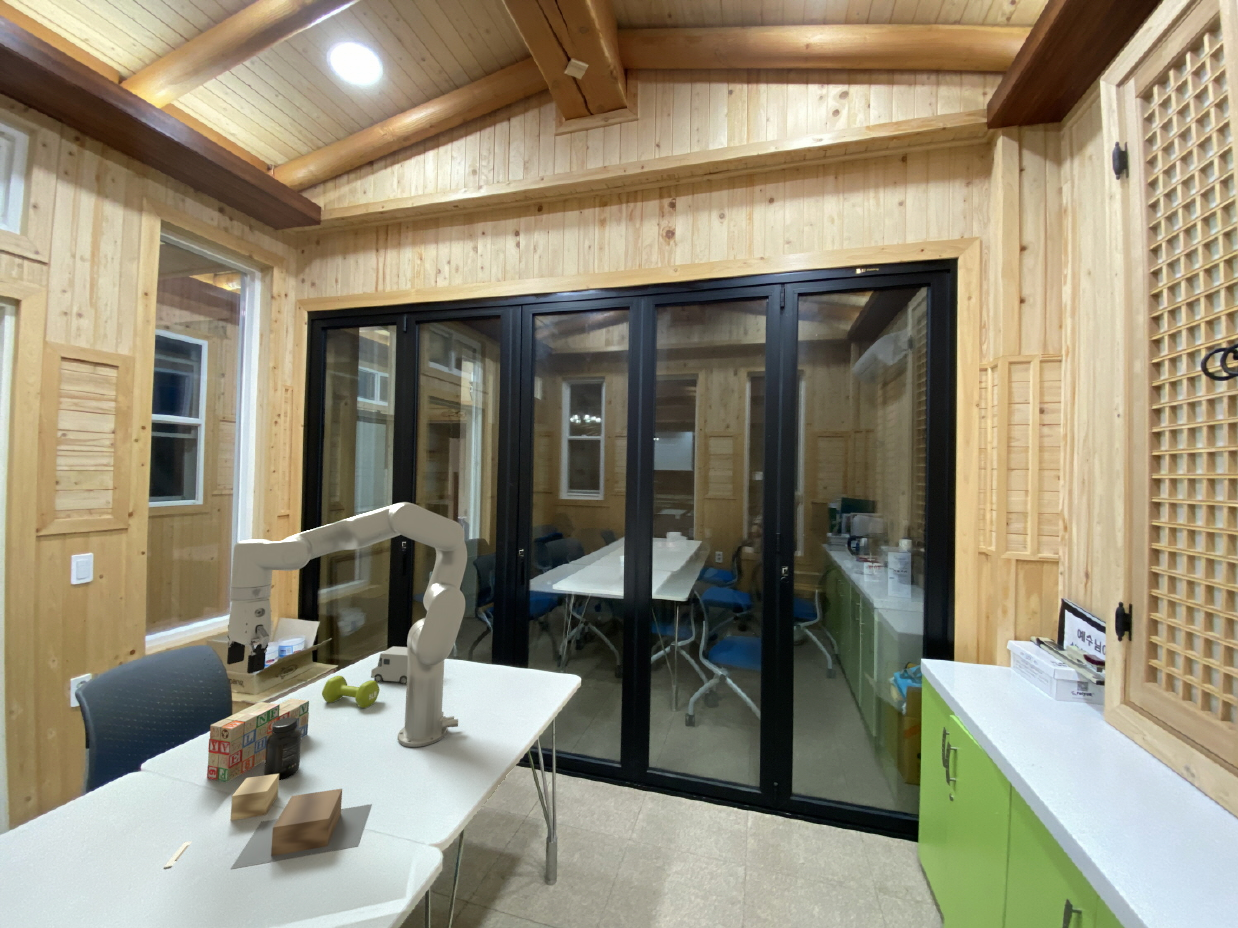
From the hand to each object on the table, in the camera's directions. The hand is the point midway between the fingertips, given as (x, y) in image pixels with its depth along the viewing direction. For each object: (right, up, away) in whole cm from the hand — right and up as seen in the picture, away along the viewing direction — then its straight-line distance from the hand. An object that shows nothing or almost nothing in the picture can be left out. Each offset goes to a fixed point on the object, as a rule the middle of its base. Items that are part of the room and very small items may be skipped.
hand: (245, 666), depth 108 cm
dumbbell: (+2, -29, +38) cm, 48 cm away
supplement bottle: (+7, -27, +2) cm, 27 cm away
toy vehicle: (+9, -30, +57) cm, 65 cm away
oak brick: (+11, -26, -11) cm, 30 cm away
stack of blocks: (-4, -27, +9) cm, 29 cm away
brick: (+27, -25, -18) cm, 41 cm away
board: (+27, -26, -18) cm, 41 cm away
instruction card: (+9, -25, -21) cm, 34 cm away
